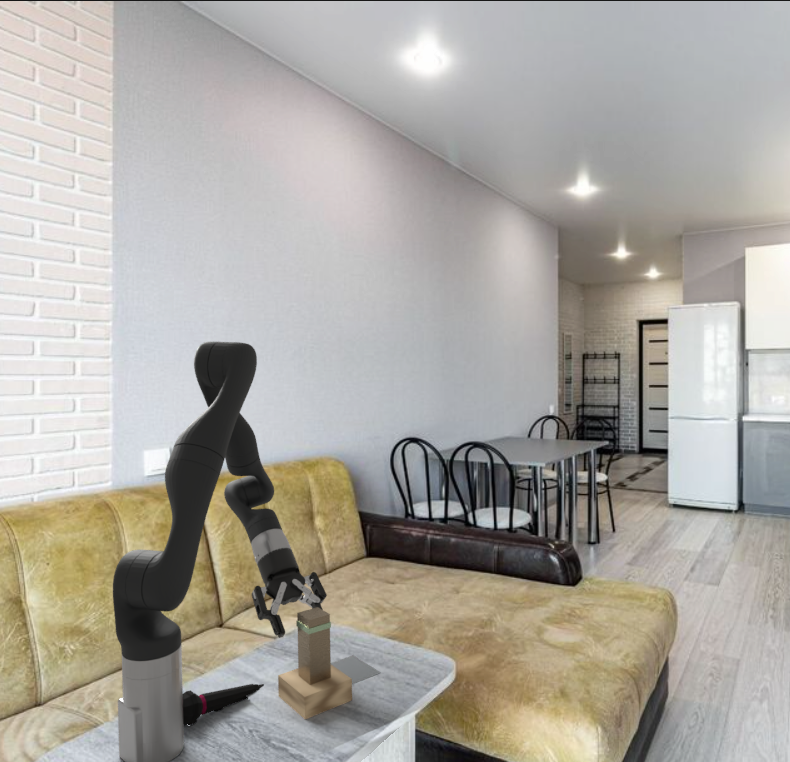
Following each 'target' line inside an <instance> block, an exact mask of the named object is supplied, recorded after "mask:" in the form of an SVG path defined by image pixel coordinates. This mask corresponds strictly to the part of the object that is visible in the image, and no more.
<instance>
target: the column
mask: <svg viewBox="0 0 790 762" xmlns="http://www.w3.org/2000/svg"><path fill="white" fill-rule="evenodd" d="M322 609H323V608H322ZM322 609H320V608H318V607H316V608H313V609H312V608H310V609H309V608H308V609H306V610H303V611H299V612H297V614H296V615H297V616H296V617H297V620H296V623H295V624H296V627H297V659H298V660H297V663H298V664H297V665H298V666H297V667H298V672H299V677H301V678H302V679H303V680H304V681H306V682H307V683H308V684H309V685H312V684H315V683H318V682H320V681H323V680H326V679H329V678H331V663H332V661H331V660H332V659H331V628H332V622H331V619H330V618H331V616H330V615H331V614H330V613H328V612H327V611H325V610H322Z"/></svg>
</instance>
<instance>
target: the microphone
mask: <svg viewBox="0 0 790 762" xmlns="http://www.w3.org/2000/svg"><path fill="white" fill-rule="evenodd" d="M264 686H265V684H264V683H263V684H262V683H261V684H258V683H256V684H255V683H249V684H244V685H239V686H236V687H231V688H225V689H219V690H215V691H210V692H206V693H201V694H199V695H198V694H197V693H196V692H194V691H192V690H186V691H185V692H183V726H187V724H188V725H190V726H193V725H194V724H196V723H197V722H198V720H199V718H200V717H201V716H203V715H206V714H210V713H212V712H213V713H214V712H215V713H218V712H220V711H223V710H224V708H226V707H229V706H232V705H234V704H237V703H239V702H243V701H245V700H247V699H249V697H248V696H250V695H252V694H254V693H256V692H257V691H259V690H260V689H261V688H263V687H264ZM192 724H193V725H192Z"/></svg>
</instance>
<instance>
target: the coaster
mask: <svg viewBox="0 0 790 762" xmlns="http://www.w3.org/2000/svg"><path fill="white" fill-rule="evenodd" d="M331 665H333V666H334V667H335V668H337V669H338V670H340V671H341V672H343V673H344V674H346V675H347V676H348V677H350V678H351V679H352V685H354V684H357V683H359V682H362V681H364V680H367V679H369V678H371V677H374V676H377V675H380V674H382V672H381V671H380V670H378V669H376V668H374V667H373V666H372V665H370V664H368V663H366V662H365V661H364V660H362V659H360V658H359V657H357V656H355V655H354V654H353V655H350V656H347V657H344V658H341V659H338V660H336V661H331Z"/></svg>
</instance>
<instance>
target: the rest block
mask: <svg viewBox="0 0 790 762" xmlns="http://www.w3.org/2000/svg"><path fill="white" fill-rule="evenodd" d="M277 683H278V684H277V685H278V689H277V690H278V692H277V693H278V698H280V699H281V700H282V701H283V702H284V703H285V704H287V706H289V707H290V708H291V709H292V710H294V711H295V712H296V713H297V714H298V715H299V716H300V717H302V718H303V719H304V720H308V719H310V718H312V717H315V716H317V715H319V714H323V713H324V712H327V711H330V710H332V709H334V708H337V707H339V706H342V705H344V704H347V703H350V702H351V701H352V700H353V684H352V679H351V678H350V677H348V676H347V675H346V674H344V673H343V672H341V671H340V670H338V669H337V668H335V667H334V666H333V665H331V678H329V679H326V680H323V681H320V682H318V683H315V684H312V685H309V684H308V683H307V682H306V681H304V680H303V679H302V678H301V677H299V672H298V668H296V669H292V670H289V671H285V672H283V673H280V674H278V675H277Z"/></svg>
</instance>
